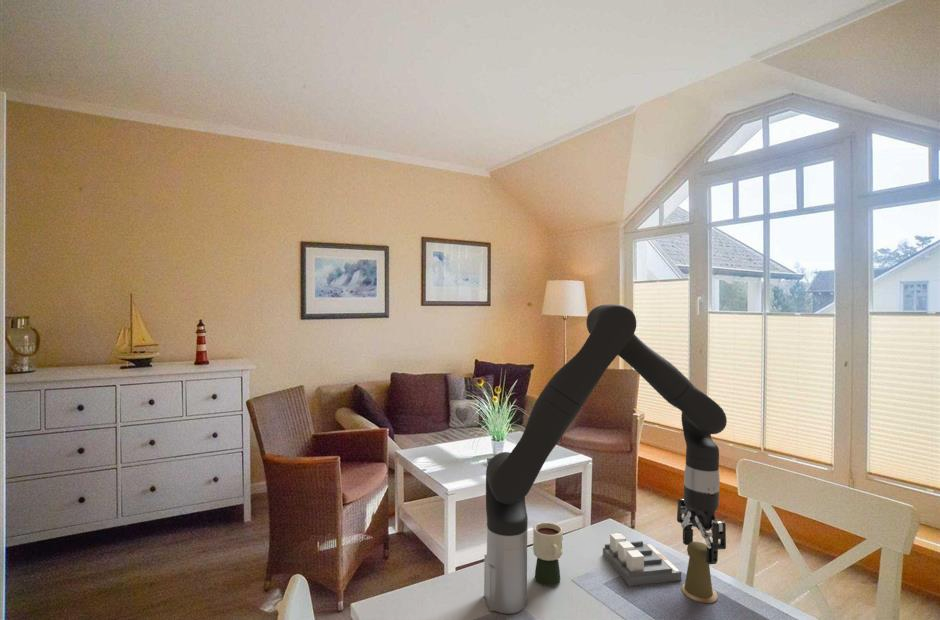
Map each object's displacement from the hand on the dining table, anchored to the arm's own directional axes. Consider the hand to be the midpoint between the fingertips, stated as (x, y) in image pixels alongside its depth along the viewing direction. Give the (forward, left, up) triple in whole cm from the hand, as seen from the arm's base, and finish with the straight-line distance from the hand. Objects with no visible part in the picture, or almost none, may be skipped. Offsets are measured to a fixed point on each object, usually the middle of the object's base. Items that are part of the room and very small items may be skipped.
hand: (699, 553), depth 111 cm
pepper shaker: (0, 0, -9) cm, 9 cm away
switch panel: (-8, +12, -10) cm, 17 cm away
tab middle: (-12, +12, -7) cm, 19 cm away
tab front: (-12, +8, -7) cm, 16 cm away
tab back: (-12, +17, -7) cm, 22 cm away
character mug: (-34, +10, -10) cm, 37 cm away
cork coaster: (0, 0, -9) cm, 9 cm away
